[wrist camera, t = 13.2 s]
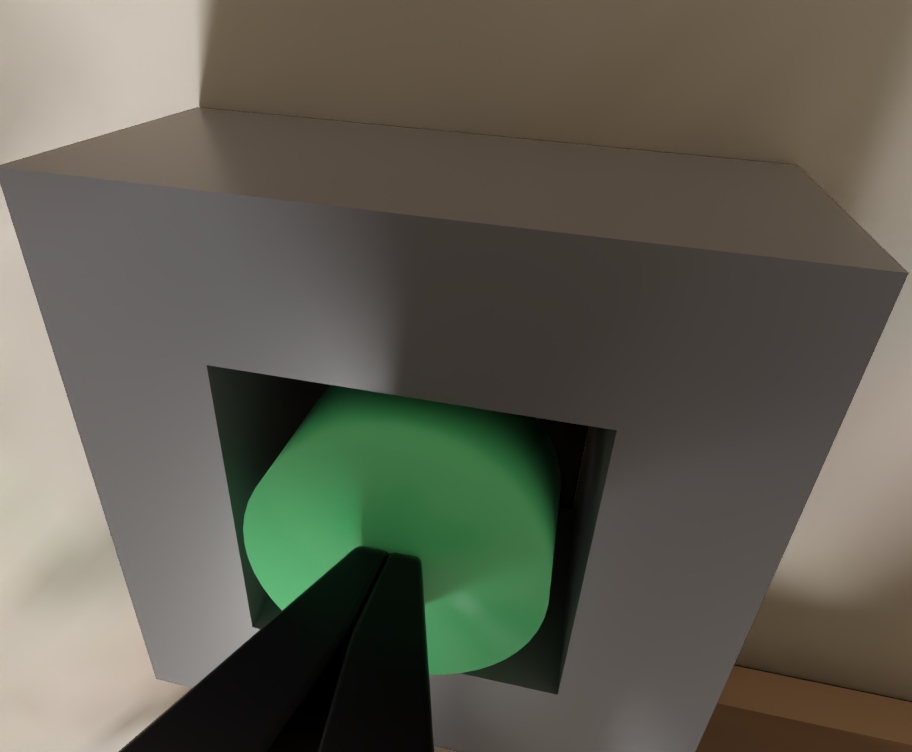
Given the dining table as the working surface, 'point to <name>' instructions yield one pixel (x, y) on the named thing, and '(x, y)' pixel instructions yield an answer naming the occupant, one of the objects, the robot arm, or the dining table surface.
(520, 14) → the dining table surface
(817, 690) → the brown wooden pocket tray
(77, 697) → the dining table surface
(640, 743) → the button housing
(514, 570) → the button
